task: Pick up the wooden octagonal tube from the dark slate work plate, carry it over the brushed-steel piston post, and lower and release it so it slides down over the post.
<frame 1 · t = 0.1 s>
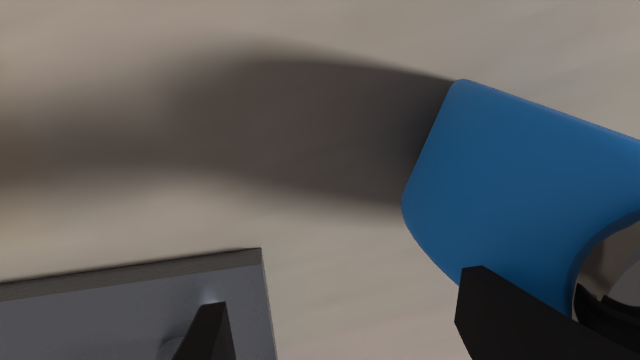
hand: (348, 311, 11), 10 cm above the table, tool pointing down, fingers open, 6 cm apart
alarm clock: (488, 144, 21), on the table
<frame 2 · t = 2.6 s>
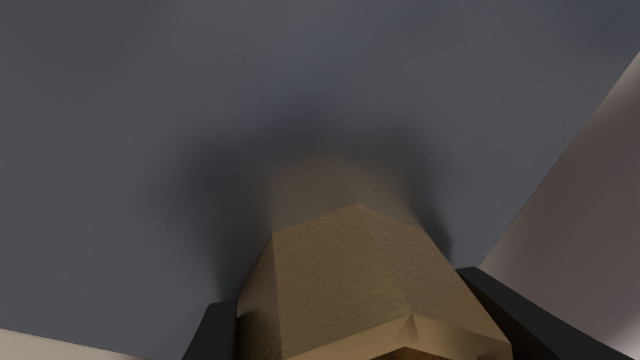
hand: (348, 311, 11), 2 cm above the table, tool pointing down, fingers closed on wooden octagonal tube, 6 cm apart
work plate: (251, 50, 10), on the table
wooden octagonal tube: (343, 294, 11), point 1 cm above the table, touching gripper, work plate
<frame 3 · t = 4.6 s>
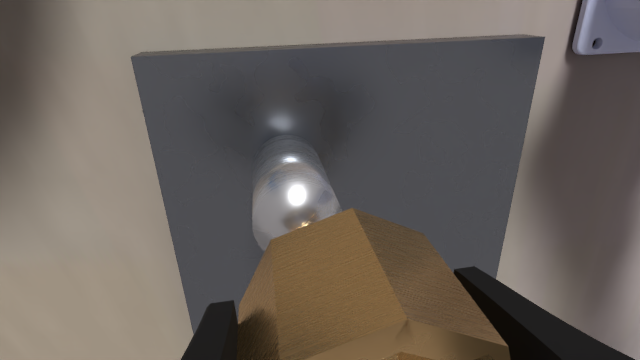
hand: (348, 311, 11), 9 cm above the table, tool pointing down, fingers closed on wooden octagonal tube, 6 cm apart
work plate: (345, 220, 21), on the table
wooden octagonal tube: (343, 298, 11), point 9 cm above the table, touching gripper
when the fingers open (5 cm above the table, at t = 7.1 s): wooden octagonal tube drops 3 cm, resting on work plate.
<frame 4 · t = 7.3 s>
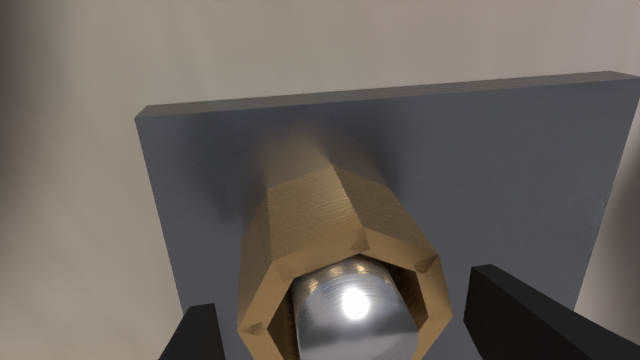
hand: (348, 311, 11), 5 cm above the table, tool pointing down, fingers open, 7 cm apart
work plate: (388, 287, 17), on the table
wooden octagonal tube: (325, 241, 14), point 1 cm above the table, touching work plate
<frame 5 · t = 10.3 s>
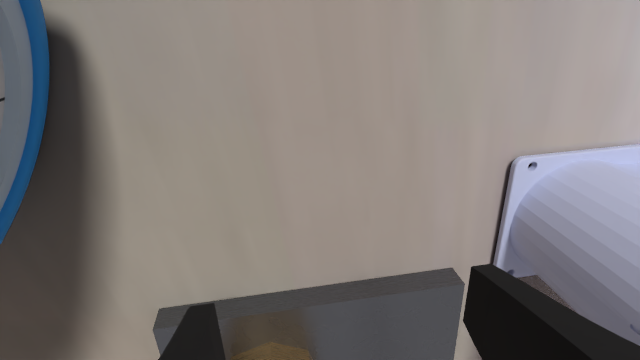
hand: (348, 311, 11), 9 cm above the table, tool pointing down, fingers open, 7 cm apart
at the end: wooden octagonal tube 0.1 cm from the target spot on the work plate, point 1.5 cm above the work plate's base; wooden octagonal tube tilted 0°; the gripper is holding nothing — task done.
